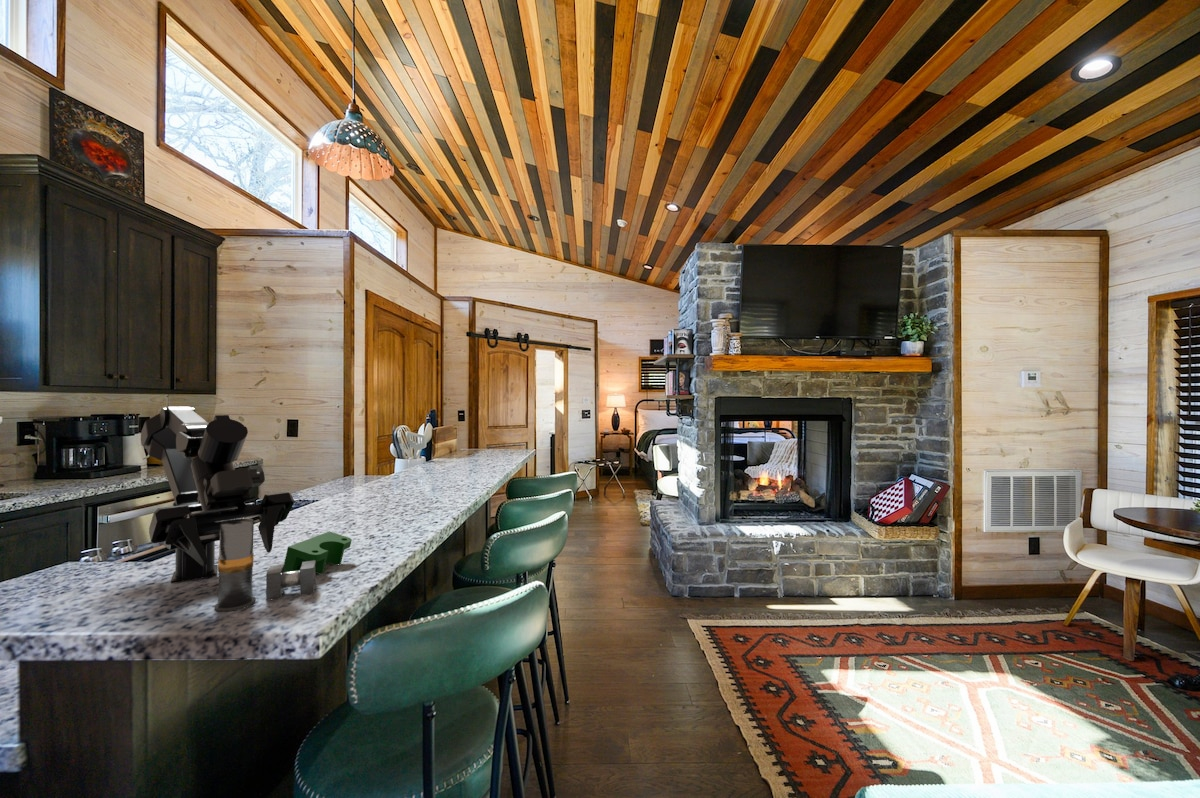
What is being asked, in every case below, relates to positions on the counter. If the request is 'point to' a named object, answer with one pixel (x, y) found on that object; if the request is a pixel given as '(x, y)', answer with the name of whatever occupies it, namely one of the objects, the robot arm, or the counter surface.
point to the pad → (234, 607)
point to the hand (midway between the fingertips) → (238, 557)
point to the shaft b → (290, 579)
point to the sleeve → (235, 563)
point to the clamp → (317, 551)
